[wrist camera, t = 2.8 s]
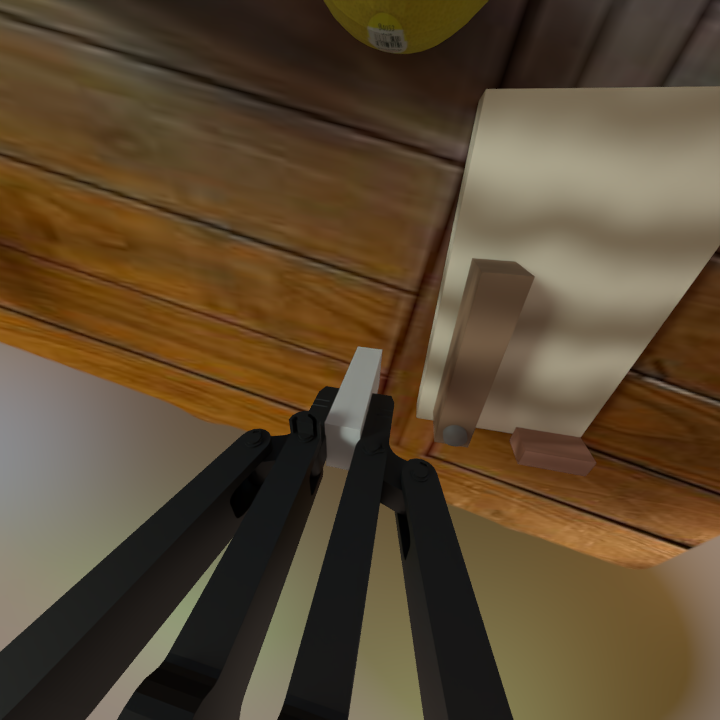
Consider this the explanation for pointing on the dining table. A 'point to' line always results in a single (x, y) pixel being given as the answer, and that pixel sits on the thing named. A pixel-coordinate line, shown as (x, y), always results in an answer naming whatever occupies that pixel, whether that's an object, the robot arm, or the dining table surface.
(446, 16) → the lemon
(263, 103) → the dining table surface
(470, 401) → the walnut leg
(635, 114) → the stool seat
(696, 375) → the dining table surface
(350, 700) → the robot arm
